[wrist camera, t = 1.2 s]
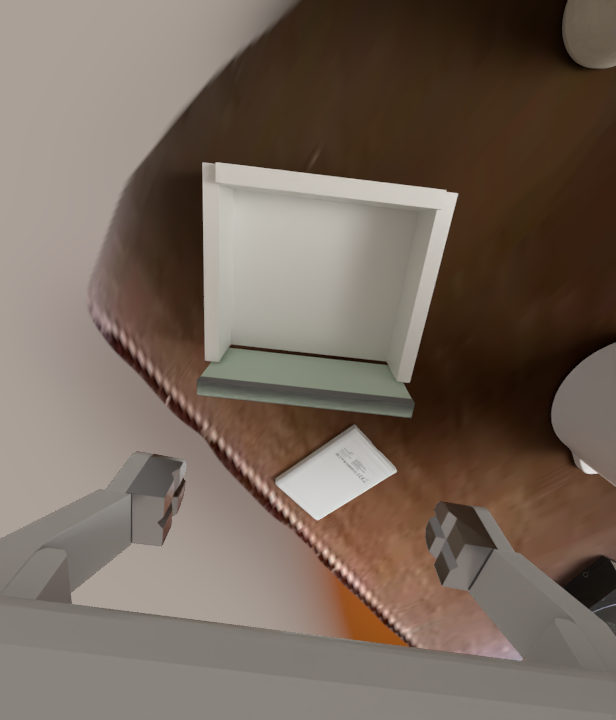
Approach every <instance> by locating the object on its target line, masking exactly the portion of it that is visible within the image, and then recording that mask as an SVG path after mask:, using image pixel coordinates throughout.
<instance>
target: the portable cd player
mask: <svg viewBox="0 0 616 720" xmlns="http://www.w3.org/2000/svg"><path fill="white" fill-rule="evenodd" d="M563 589H564V590H566V591H567V592H568V593H569V594H571V595H572V596H573V597H574V598H575V599H577V600H578V601H579V602H580V603H582V604H583V605H584V606H585V607H587V608H588V609H589V610H590V611H591V612H593V613H594V614H595V615H596V616H598V617H599V618H600V619H601V620H603V621H604V622H605V623H606V624H607V625H608V626H609V628H610V629H611V631H612V632H613V633H614V635H615V636H616V562H615V561H613V560H611V559H608V558H606V557H604V556H602V557H601V558H600V559H598V560H597V561H596V562H595V563H593V564H592V565H591V566H590V567H588V568H587V569H586V570H585V571H583V572H582V573H581V574H580V575H578V576H577V577H576V578H575V579H573V580H572V581H571V582H570V583H568V584H567V585H566V586H565V587H563Z"/></svg>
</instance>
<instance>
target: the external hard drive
mask: <svg viewBox="0 0 616 720" xmlns="http://www.w3.org/2000/svg"><path fill="white" fill-rule="evenodd" d="M396 472H397V470H396V467H395V466H394V465H393V464H392V463H391V462H390V461H389V460H388V459H387V458H386V457H385V456H384V455H383V454H382V453H381V451H379V450H378V449H377V448H376V447H375V446H374V445H373V444H372V442H371V441H370V440H369V439H368V438H367V437H366V436H365V434H364V433H363V432H362V431H361V430H360V429H359V428H358V427H357V426H356V425H355V424H354V425H353V426H351V427H350V428H348V429H347V430H345V431H344V432H342V433H341V434H339V435H338V436H336V437H335V438H333V439H332V440H331V441H329V442H328V443H326V444H325V445H323V446H322V447H320V448H319V449H317V450H316V451H315V452H313V453H312V454H310V455H309V456H307V457H306V458H304V459H303V460H301V461H300V462H298V463H297V464H296V465H294V466H293V467H291V468H290V469H288V470H287V471H285V472H284V473H282V474H281V475H280V476H278V477H277V478H276V480H275V484H276V485H277V486H278V487H279V488H280V489H281V490H282V491H283V492H285V493H286V494H287V495H288V496H289V497H290V498H291V499H293V500H294V501H295V502H296V503H297V504H298V505H299V506H300V507H302V508H303V509H304V510H305V511H306V512H307V513H308V514H310V515H311V516H312V517H313V518H314V519H316V520H320V519H321V518H323V517H325V516H326V515H328V514H329V513H331V512H333V511H334V510H336V509H337V508H339V507H341V506H342V505H344V504H345V503H347V502H349V501H350V500H352V499H354V498H355V497H357V496H358V495H360V494H362V493H363V492H365V491H367V490H368V489H370V488H371V487H373V486H375V485H376V484H378V483H379V482H381V481H383V480H384V479H386V478H387V477H389V476H391V475H392V474H394V473H396Z"/></svg>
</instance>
